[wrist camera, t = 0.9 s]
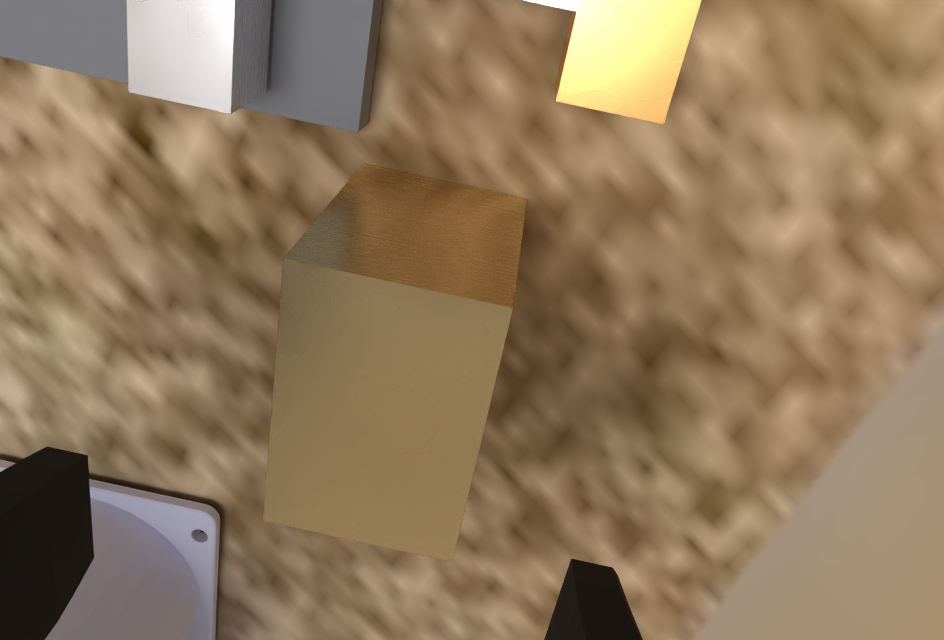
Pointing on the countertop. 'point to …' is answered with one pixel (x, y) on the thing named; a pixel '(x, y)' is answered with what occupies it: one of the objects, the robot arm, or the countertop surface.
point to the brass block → (390, 359)
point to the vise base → (289, 62)
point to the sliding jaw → (593, 3)
